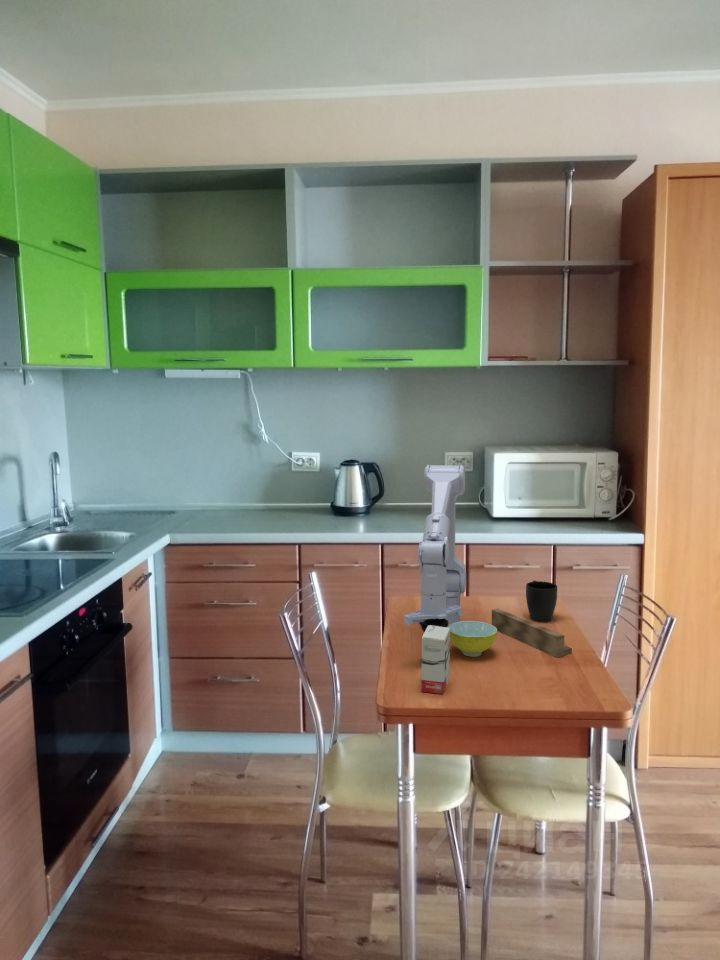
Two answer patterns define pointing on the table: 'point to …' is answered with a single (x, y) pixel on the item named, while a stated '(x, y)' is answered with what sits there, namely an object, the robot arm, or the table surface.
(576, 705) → the table surface
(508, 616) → the walnut wall
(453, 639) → the bowl
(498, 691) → the table surface
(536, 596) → the mug
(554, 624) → the table surface
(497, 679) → the table surface
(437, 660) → the ink box
